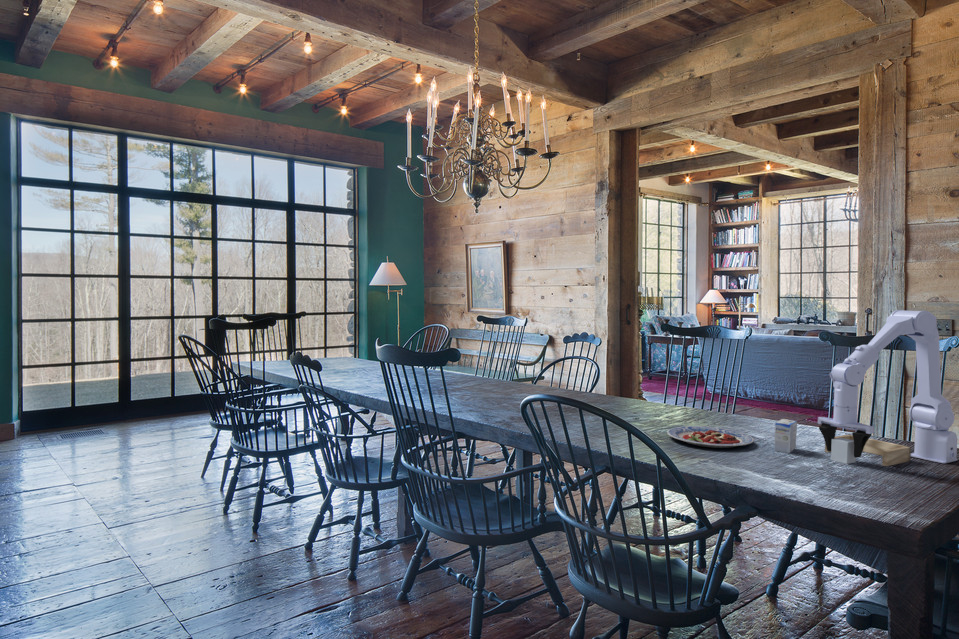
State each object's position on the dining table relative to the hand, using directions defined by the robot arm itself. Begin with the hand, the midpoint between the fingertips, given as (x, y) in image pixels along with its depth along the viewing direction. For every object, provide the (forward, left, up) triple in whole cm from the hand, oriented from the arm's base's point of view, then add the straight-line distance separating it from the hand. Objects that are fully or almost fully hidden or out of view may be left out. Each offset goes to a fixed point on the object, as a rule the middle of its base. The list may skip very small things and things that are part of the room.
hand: (843, 453), depth 172 cm
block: (0, 0, -2) cm, 2 cm away
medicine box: (+16, +4, -2) cm, 16 cm away
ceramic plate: (+34, +16, -2) cm, 37 cm away
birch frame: (0, -12, -2) cm, 12 cm away
